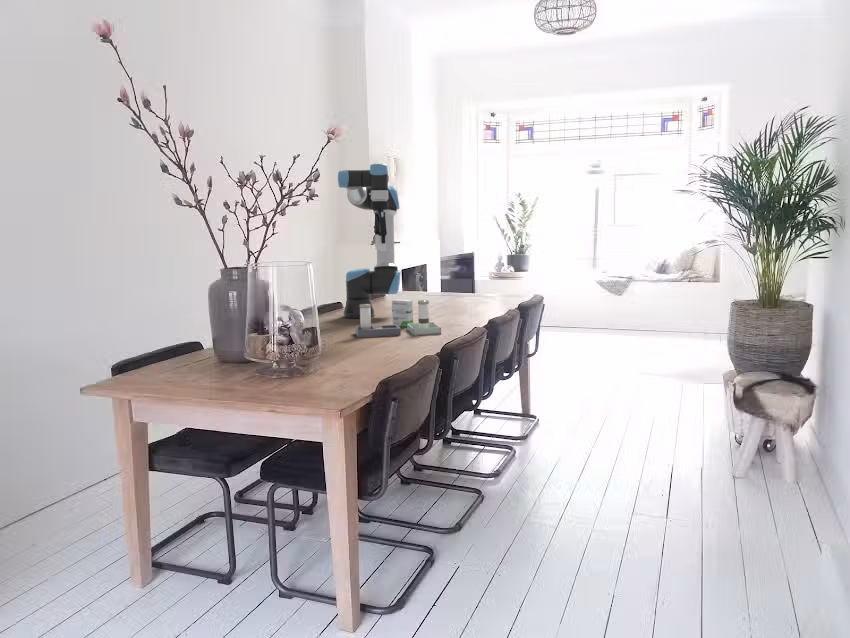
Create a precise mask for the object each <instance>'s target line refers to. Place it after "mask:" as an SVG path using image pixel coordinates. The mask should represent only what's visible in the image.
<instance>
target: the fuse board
mask: <svg viewBox="0 0 850 638" xmlns="http://www.w3.org/2000/svg"><path fill="white" fill-rule="evenodd" d="M354 332H355V335H356V337H357V338H374V337H375V338H377V337H378V338H379V337H393V336H394V337H396V336H397V337H398V336H401V332H402V331H401V326H398V325H397V324H395V325H393V324H380V325H379V324H378V325H376V324H375V325H371V329H361V325H358V326H354Z"/></svg>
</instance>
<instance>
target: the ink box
mask: <svg viewBox="0 0 850 638" xmlns="http://www.w3.org/2000/svg"><path fill="white" fill-rule="evenodd" d="M391 316H392V317H391V321H392V325H395V324H397V325H398V326H399V327H400V328H401V327H405V328H407V324H408V323H414V309H413V300H411V299H399V298H398V299H397V298H396V299H392V300H391Z"/></svg>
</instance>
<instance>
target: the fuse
mask: <svg viewBox="0 0 850 638" xmlns="http://www.w3.org/2000/svg"><path fill="white" fill-rule="evenodd" d="M371 304H372V303H371ZM371 304H360V318H359V320H360V321H359V322H360V323H359V324H360V325H359V326H361V329H371V326H372V317H371V308H370V307H371Z"/></svg>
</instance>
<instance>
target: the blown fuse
mask: <svg viewBox="0 0 850 638" xmlns="http://www.w3.org/2000/svg"><path fill="white" fill-rule="evenodd" d="M429 306H430V301H429V300H428V299H418V300H417V307H418V309H417V310H418V312H417V313H418V318H417V319H418V320H417V321H418V323H419V328H429V322H430V316H429V315H430V313H429V312H430V310H429V309H430V308H429Z"/></svg>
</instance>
